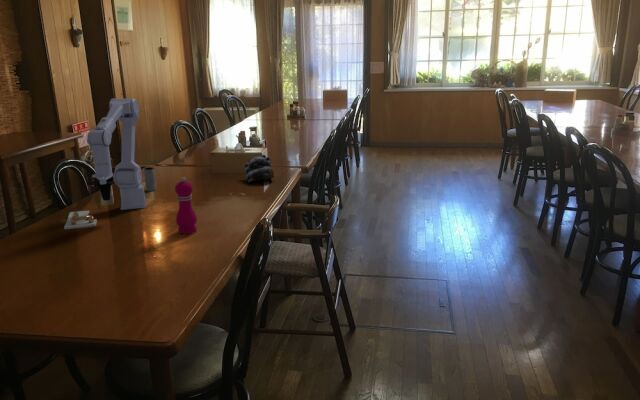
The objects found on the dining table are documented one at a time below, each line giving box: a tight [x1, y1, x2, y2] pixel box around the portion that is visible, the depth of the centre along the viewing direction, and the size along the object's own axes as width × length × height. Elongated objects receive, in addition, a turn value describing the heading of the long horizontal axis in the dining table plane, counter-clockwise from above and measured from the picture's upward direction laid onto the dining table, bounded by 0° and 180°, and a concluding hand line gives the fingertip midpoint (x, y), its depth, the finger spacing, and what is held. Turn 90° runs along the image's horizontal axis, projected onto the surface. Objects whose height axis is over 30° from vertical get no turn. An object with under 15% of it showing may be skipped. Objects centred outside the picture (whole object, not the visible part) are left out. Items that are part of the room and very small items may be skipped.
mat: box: [67, 210, 90, 219], centre depth 201 cm, size 7×7×1 cm
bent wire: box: [71, 211, 95, 225], centre depth 192 cm, size 8×8×3 cm
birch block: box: [99, 184, 115, 206], centre depth 189 cm, size 4×4×7 cm
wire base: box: [63, 217, 98, 230], centre depth 192 cm, size 10×11×1 cm
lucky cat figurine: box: [243, 154, 275, 183], centre depth 249 cm, size 15×12×14 cm
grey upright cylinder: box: [143, 166, 157, 192], centre depth 234 cm, size 4×4×10 cm
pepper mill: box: [174, 176, 198, 235], centre depth 179 cm, size 7×7×20 cm
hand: (107, 198), depth 190 cm, fingers closed on birch block, 4 cm apart
